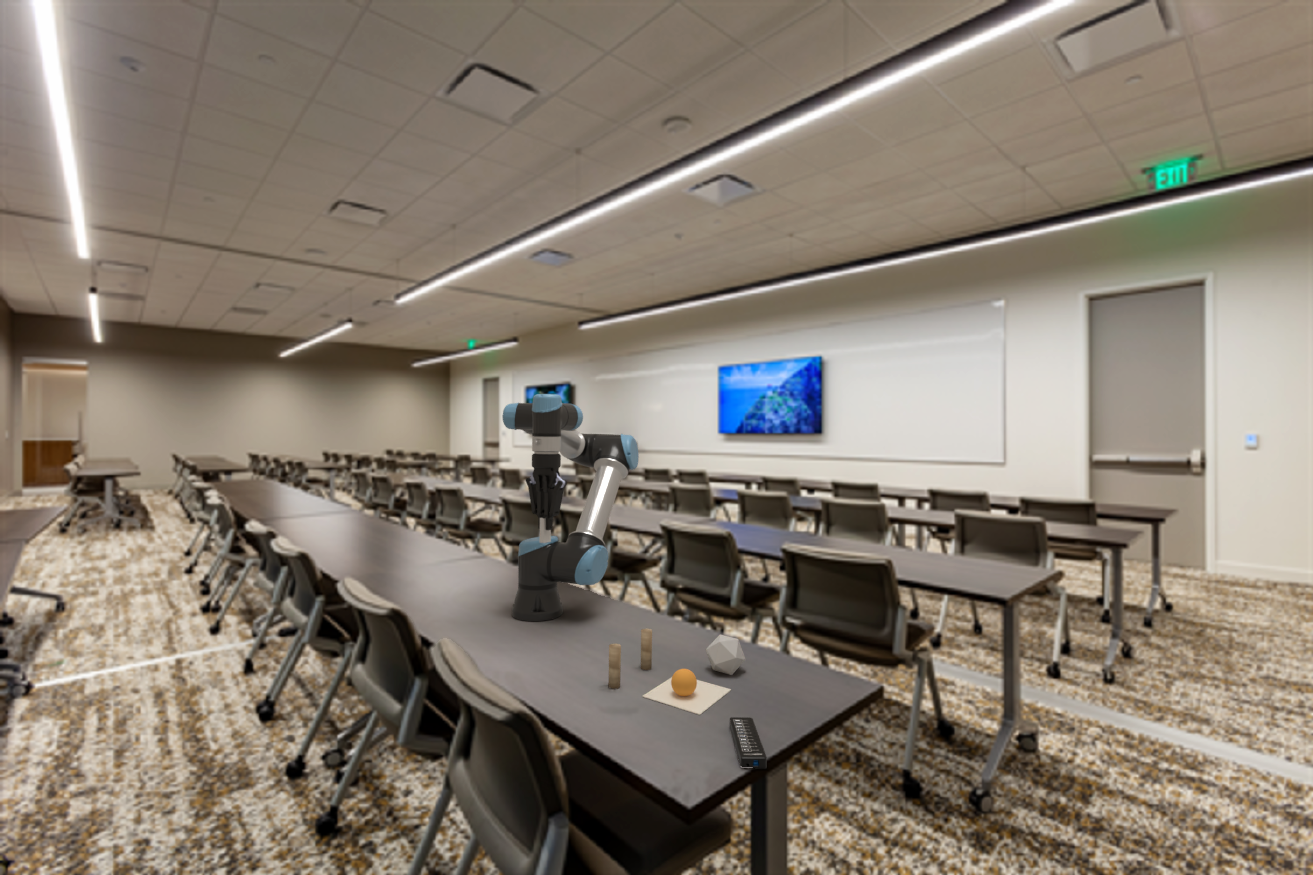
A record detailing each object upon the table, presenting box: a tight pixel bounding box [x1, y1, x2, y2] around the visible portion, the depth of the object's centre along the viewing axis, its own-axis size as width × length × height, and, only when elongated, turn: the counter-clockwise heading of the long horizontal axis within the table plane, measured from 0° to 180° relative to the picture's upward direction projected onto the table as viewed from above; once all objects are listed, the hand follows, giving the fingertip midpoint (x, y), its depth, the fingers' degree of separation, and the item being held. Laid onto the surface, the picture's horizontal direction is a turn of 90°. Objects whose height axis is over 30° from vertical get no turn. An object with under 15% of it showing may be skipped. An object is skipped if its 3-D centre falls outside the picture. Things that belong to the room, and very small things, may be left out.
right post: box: [640, 628, 653, 671], centre depth 144 cm, size 3×3×9 cm
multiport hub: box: [729, 716, 768, 770], centre depth 109 cm, size 4×14×2 cm, turn 1°
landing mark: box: [641, 676, 732, 716], centre depth 130 cm, size 14×14×1 cm
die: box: [705, 634, 747, 676], centre depth 143 cm, size 8×9×10 cm
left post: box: [608, 643, 622, 690], centre depth 133 cm, size 3×3×9 cm
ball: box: [671, 668, 698, 696], centre depth 130 cm, size 6×6×6 cm
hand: (545, 541), depth 160 cm, fingers closed
